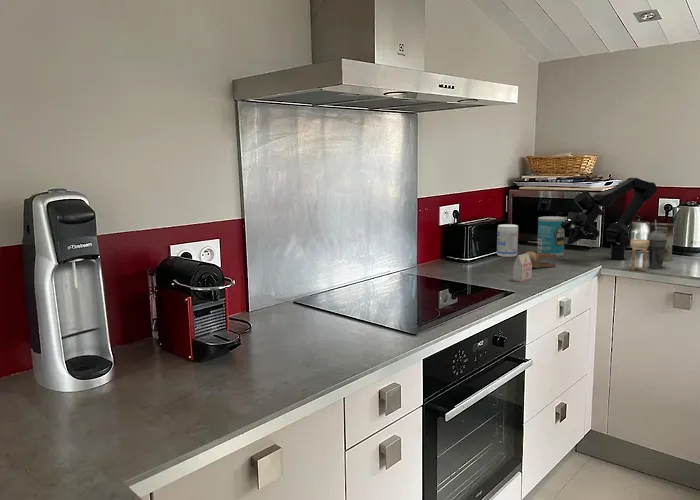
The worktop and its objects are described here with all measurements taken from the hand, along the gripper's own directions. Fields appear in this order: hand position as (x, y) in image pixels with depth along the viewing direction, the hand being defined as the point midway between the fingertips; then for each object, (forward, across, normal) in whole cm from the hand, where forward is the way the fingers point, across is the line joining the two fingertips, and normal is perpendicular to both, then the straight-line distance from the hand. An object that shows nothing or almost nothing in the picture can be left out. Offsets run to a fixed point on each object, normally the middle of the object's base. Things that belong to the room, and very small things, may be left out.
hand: (568, 244), depth 244 cm
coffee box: (-23, +10, +36) cm, 44 cm away
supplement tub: (+14, -30, -1) cm, 33 cm away
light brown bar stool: (-6, +22, +18) cm, 29 cm away
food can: (+1, -21, +12) cm, 24 cm away
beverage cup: (-12, +22, +25) cm, 35 cm away
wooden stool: (+10, 0, -2) cm, 11 cm away
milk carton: (+31, +17, -20) cm, 41 cm away
